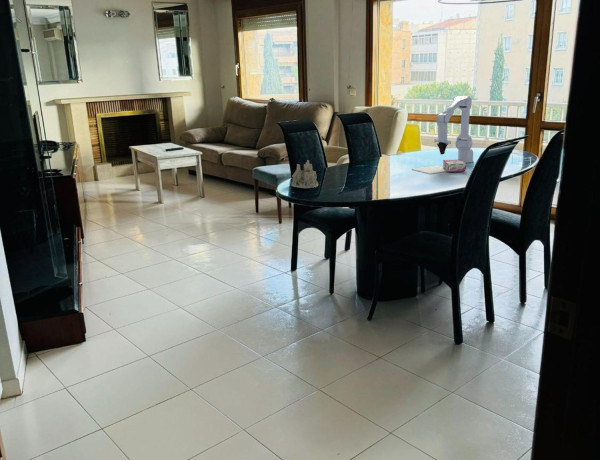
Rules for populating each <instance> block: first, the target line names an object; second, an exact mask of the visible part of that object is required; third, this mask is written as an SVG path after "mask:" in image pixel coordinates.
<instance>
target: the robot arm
mask: <svg viewBox="0 0 600 460" xmlns="http://www.w3.org/2000/svg"><path fill="white" fill-rule="evenodd" d="M456 109H459V110H460V112H461V116H460V133H459V135H458V136H457V137H456V140H455V147H456V148H457V149H456V150H458V151H457V153H458V154H457V160H461V161H463V162H464V163H465V164H468V163H473V162H474V150H473V149H472V147H473V137H472V136H470V135H469V129H470V128H469V127H470V111H471V109H472V98H471V96H470V95H469V96H466V95H465V96H455V97H454V98H453V102H452V104H450V106H446V108H445V109H444V110H443V111H442V112H441V113H439V114H437V116H436V119H435V121H436V123H437V124H436V125H437V138H434V143H436V145H437V147H438V150H439V154H440V155H445V153H446V150H447V148H448V146H449V145H451V144H452V141H451V140H449V139H448V123H449V122H450V120H451V117H452V116H453V115H454V113H455V111H456Z"/></svg>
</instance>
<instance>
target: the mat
mask: <svg viewBox="0 0 600 460" xmlns="http://www.w3.org/2000/svg"><path fill="white" fill-rule="evenodd" d="M411 170H412V171H416V172H419V173H424V174H428V175H433V174H434V175H435V174H441V173H448V172H447V171H446V170H445V169H444V168H443V165H437V164H436V165H430V166H423V167H416V168H415V167H414V168H411Z"/></svg>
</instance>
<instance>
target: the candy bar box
mask: <svg viewBox="0 0 600 460" xmlns="http://www.w3.org/2000/svg"><path fill="white" fill-rule="evenodd" d="M442 166H443V168H444V169H445V170H446V171H447V172H446V173H451V172H452V173H453V172H456V173H457V172H466V170H467V169H466V168H467V163H464V162H463V161H461V160H458V159H446V160H445V159H443V160H442Z"/></svg>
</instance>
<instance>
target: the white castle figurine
mask: <svg viewBox="0 0 600 460" xmlns="http://www.w3.org/2000/svg"><path fill="white" fill-rule="evenodd" d="M316 171H317V170H315V171H314V170H313V164H312V163H310V160H306V162H305V164H304V163H303V170H301V164H298V163H297V164H296V169H295V172H294V173H293V174H292V181H291V184H290V185H291V187H294V188H301V189H311V188H312V189H313V188H314V187H315V188H317V187H318V186H319V182H318V180H317V179H318V178H317V172H316Z"/></svg>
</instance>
